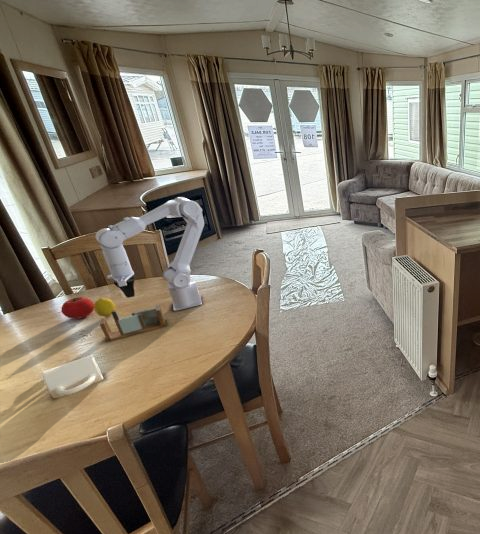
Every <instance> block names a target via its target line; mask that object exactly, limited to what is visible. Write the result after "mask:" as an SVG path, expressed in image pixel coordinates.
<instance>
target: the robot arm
mask: <svg viewBox="0 0 480 534" xmlns="http://www.w3.org/2000/svg"><path fill="white" fill-rule="evenodd" d="M168 216H174V217H175V216H176V217H177V216H178V217H182V218H183V220H184V221H185V222H186V226H185V229H184V232H183V235H182V237H181V239H180V242H179V245H178V248H177V251H176V254H175V256H174V259H173V260H172V261H171V262H170V263H169V265H168V267H167V268H165V270H164V271H163V273H162V278H163V279H164V281H166V282H168V283H167V284H168V285H167V289H168V292H169V295H170V297H171V300H172V309H173V311H174V312H177V311H181V310H185V309H189V308H194V307H197V306H200V305H203V301H202V295H201V293H200V292H199V288H198V285H197V281H191V272H192V270H191V262H192V259H193V257H194V255H195V252H196V249H197V246H198V244H199V241H200V238H201V235H202V233H203V229H204V227H205V219H204V216H203V208H202V207H201V205H199V204H198V202H196V201H195V200H190V199H188V198H186V197H185V196H178V197H175V198H174V199H171V200H167V201H166V202H165V203H163V204H161V205H159V206H157V207H156V208H154V209H152V210H150V211H148V212H147V213H145V214H142V215H141V216H139V217H138V216H137V217H135V216H130V217H128V216H125V217H123V219H122V220H121V221H119V222H118V223H117V222H116V223H115V224H113V225H112V224H110V225H108V226H107V227H108V228H106V227H105V228H101V229H99V230H98V231H97V232H96V233H95V237H94V239H95V241H96V242H97V243H99V244H100V249H101V250H102V255H103V257H104V261H105V262H106V265H107V268H108V270H109V273H110V274H108V275H107V277H106V279H108V280H110V279H112V280H114V281H113V285H115V286H116V287H117V288H118V289H120V291H121V292H122V293H123V295H124V296H125V297H126V298H134V297H135V296H136V293H135V280H136V275H135V271H134V270H133V269H132V266H131V262H130V260H129V257H128V254H127V251H126V249H125V248H124V245H123V243H124V241H127V240H129V239H130V238H132V237H135V236H137V235H139V234H141V233H142V232H144V231H145V230H146V227H147V226H148V225H150V224H153V223H155V222H158V221H159V220H161V219H164V218H166V217H168Z"/></svg>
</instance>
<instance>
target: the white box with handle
mask: <svg viewBox="0 0 480 534" xmlns="http://www.w3.org/2000/svg"><path fill="white" fill-rule="evenodd" d="M41 376H42V379H43V382H44V385H45V387H46V389H47V391H48V392H49V394H50V396H51V397H52V398H53V399H58V398H60V397H62V396H69V395H70V396H71V395H73V394H76V393H78V392H80V391H82V390H84V389H86V388H88V387H89V386H90V385H93V384H96V383H99V382H100V381H103V380H104V376H103V374H102V371H101V368H100V367H99V364H98V362H97V360H96V358H95V357H94V355H93V354H90V355H88V356H85V357H82V358H79V359H76V360H73V361H70V362H67V363H64V364H61V365H58V366H55V367H52V368H49V369H47V370H44V371H42V373H41Z"/></svg>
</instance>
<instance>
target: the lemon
mask: <svg viewBox="0 0 480 534" xmlns="http://www.w3.org/2000/svg"><path fill="white" fill-rule="evenodd" d="M94 311H95V313H96V314H97V315H99V316H101V317H107V318H108V317H111V316H112V313H111V312H112V311H116V305H115V303H114V302H113V301H112V299H109V298H105V297H104V298H103V297H101V298H99V299H97V300H96V301H95V302H94Z"/></svg>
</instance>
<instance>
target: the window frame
mask: <svg viewBox="0 0 480 534" xmlns="http://www.w3.org/2000/svg"><path fill="white" fill-rule="evenodd" d="M138 314H141V316H142V319H143V321H144V324H145V326H146V328H145V329H140V330H137V331H133V332H129V333H125V334H122V335H121V334H120V332H119V330H116V331H113V332H112V330H111V328H110V326H109V323H108V321H107V320H106V318H105V317H103V318H100V322H99V327H100V329H101V330H102V332H103V335H104V338H105V339H106V341H107V342H111V341H115V340H118V339H123V338H126V337H130V336H134V335H138V334H142V333H145V332H149V331H153V330H157V329H160V328H164V327H166V319H165V317H164V314H163V311H162V309H161V306H160V305H155V307H152V308H149V309H145V310H140V311H136V312H132V313H131V316H134V315H138Z"/></svg>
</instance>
